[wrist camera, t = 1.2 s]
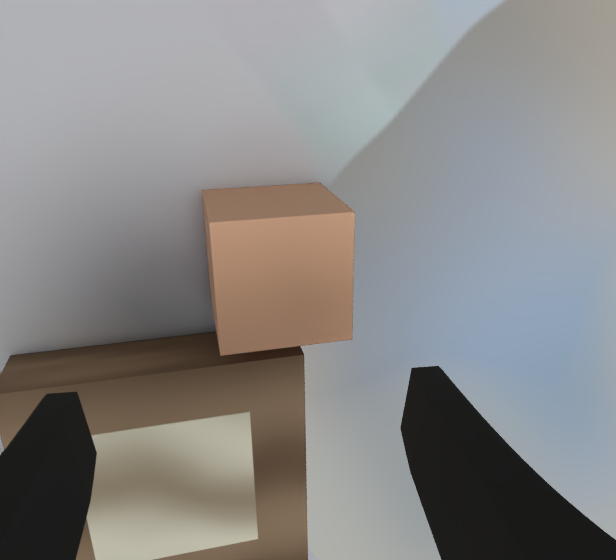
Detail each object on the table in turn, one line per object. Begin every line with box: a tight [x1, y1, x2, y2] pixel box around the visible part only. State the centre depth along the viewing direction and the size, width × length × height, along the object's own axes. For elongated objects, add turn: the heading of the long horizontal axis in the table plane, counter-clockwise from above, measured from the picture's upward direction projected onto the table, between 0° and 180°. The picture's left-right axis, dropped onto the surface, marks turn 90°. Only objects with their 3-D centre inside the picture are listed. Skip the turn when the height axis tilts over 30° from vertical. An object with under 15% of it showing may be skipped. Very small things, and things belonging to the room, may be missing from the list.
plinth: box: [0, 332, 308, 560], centre depth 25 cm, size 12×12×3 cm
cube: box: [202, 183, 355, 356], centre depth 22 cm, size 5×5×5 cm
